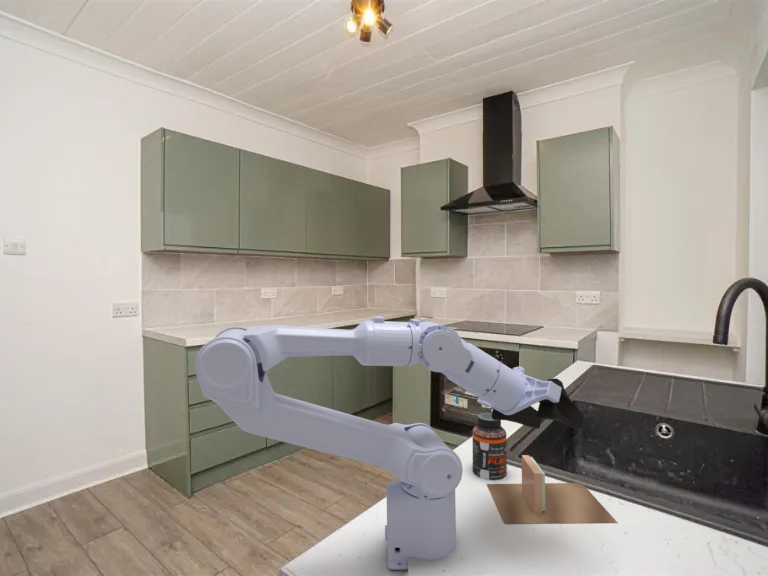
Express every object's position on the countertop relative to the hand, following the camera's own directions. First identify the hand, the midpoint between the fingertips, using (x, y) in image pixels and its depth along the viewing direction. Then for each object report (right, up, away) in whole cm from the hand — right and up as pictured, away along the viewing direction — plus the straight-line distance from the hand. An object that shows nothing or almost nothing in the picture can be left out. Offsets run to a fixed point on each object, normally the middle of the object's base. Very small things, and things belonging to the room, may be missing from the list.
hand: (558, 422), depth 58 cm
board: (0, -15, +5) cm, 16 cm away
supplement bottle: (-6, -15, +15) cm, 22 cm away
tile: (-2, -14, +5) cm, 15 cm away
